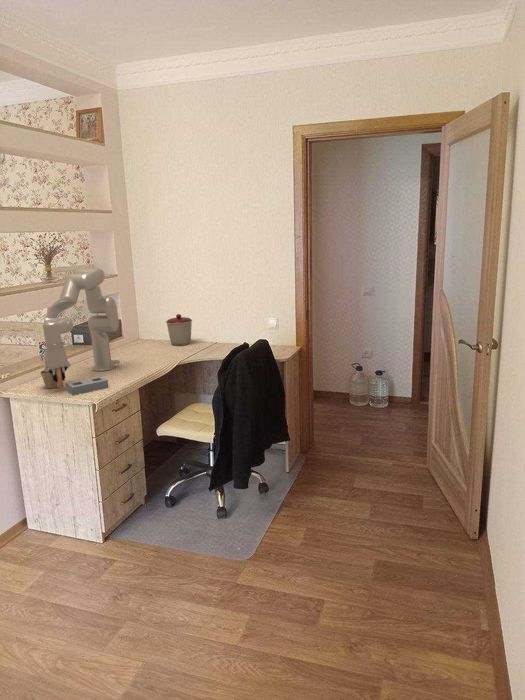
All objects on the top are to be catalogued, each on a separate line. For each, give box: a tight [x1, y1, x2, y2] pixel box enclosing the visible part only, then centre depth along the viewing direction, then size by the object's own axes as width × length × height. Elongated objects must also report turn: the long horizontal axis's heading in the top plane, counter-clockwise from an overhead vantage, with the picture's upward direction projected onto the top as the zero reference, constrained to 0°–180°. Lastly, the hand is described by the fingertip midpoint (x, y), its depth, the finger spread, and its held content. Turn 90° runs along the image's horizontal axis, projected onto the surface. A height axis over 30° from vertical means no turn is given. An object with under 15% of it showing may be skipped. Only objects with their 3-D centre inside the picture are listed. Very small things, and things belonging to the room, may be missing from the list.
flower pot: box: [39, 369, 58, 389], centre depth 278 cm, size 9×9×9 cm
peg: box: [55, 368, 64, 388], centre depth 269 cm, size 3×3×11 cm
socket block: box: [65, 375, 109, 396], centre depth 271 cm, size 18×10×4 cm, turn 127°
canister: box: [165, 313, 193, 347], centre depth 364 cm, size 18×18×21 cm
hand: (59, 380), depth 270 cm, fingers closed on peg, 3 cm apart
